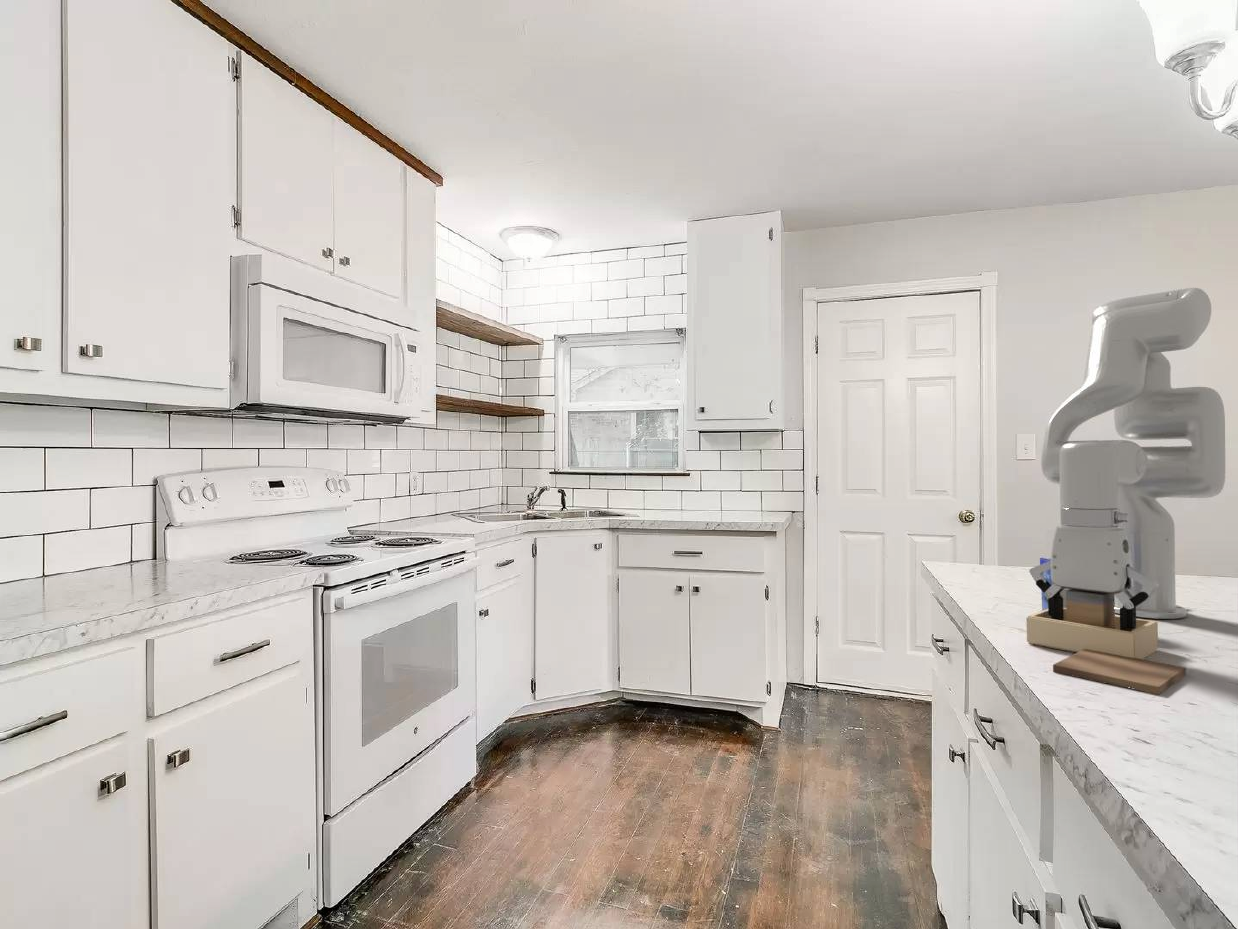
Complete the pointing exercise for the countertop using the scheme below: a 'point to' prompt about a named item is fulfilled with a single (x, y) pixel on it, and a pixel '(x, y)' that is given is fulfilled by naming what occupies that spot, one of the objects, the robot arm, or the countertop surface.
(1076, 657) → the board
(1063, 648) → the wooden box
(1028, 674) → the countertop surface
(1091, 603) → the block
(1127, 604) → the robot arm
